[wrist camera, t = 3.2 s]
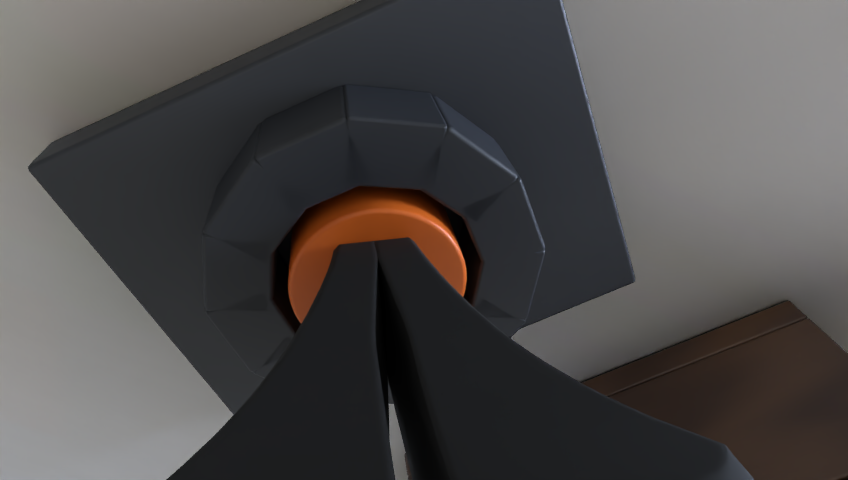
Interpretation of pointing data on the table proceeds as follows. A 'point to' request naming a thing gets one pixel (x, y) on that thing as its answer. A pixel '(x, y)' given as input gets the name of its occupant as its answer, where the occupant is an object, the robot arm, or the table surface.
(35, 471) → the table surface
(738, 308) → the table surface
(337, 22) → the panel
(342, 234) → the release button
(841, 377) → the compartment
